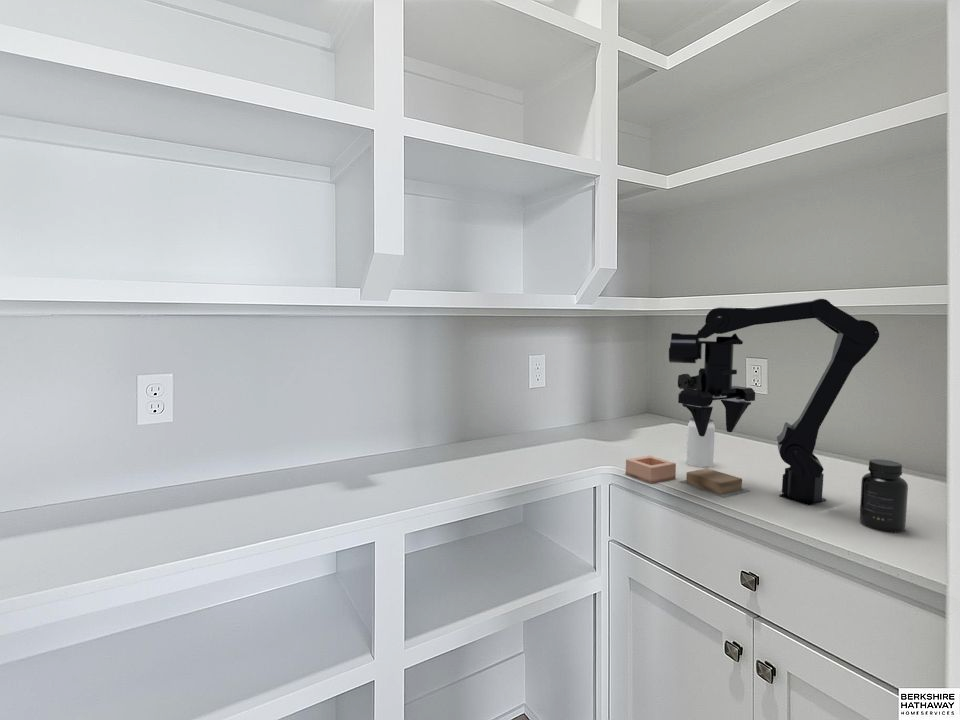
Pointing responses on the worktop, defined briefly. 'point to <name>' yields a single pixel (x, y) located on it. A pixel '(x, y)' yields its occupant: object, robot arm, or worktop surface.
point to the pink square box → (650, 469)
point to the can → (700, 445)
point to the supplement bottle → (884, 497)
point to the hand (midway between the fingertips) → (715, 434)
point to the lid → (714, 481)
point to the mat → (716, 493)
